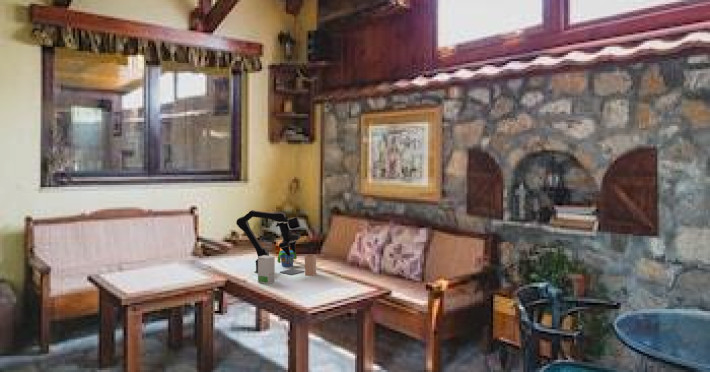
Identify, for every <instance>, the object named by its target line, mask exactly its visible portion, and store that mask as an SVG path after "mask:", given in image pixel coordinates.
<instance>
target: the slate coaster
mask: <svg viewBox="0 0 710 372" xmlns="http://www.w3.org/2000/svg"><path fill="white" fill-rule="evenodd" d="M301 273H305V270H302V269H297V268H289V269H285V270H282V271H279V274H284V275H290V276H294V275H297V274H301Z"/></svg>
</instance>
